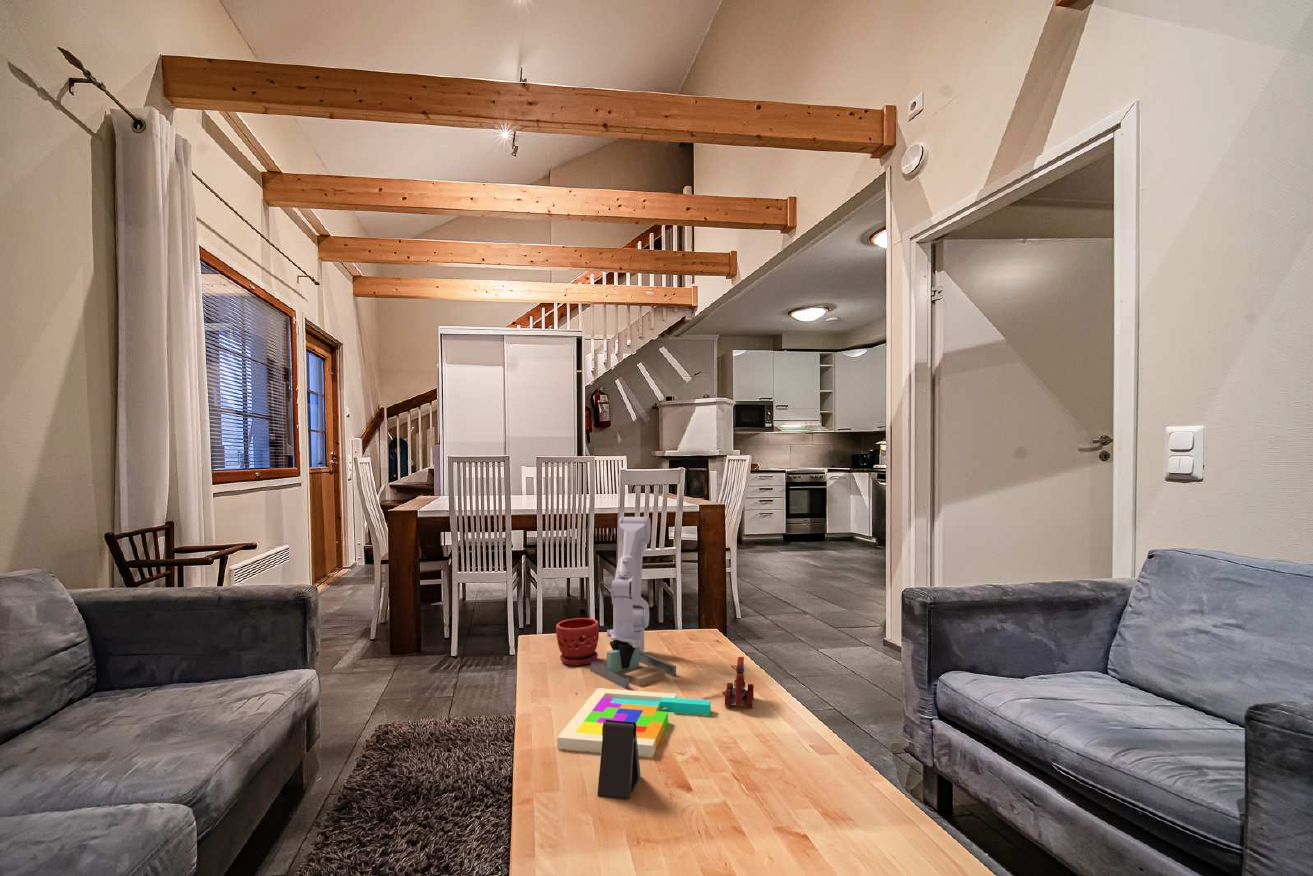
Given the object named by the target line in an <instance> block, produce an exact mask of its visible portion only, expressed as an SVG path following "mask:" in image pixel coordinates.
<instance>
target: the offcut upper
mask: <svg viewBox="0 0 1313 876" xmlns="http://www.w3.org/2000/svg"><path fill="white" fill-rule="evenodd" d="M623 675H624V676H626V677H629V684H631V685H633V686H636V687H641V686H642V687H643V686H644V685H648V684H650V683H654V682H656V681H660V680H662V679H665V678H666V673H665V670H662V669H659V668H656V667H653V666H648V665H647V666H645V667H642V668H639V669H635V670H632V671H629V672H626V673H624V674H623Z"/></svg>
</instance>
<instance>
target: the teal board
mask: <svg viewBox="0 0 1313 876" xmlns="http://www.w3.org/2000/svg"><path fill="white" fill-rule="evenodd" d="M606 667H608V668H610V669H612V670H614V671H616V672H618V673H619V672H621V671H626V670H631V669H633V668H639V667H640V662H639V647H636V648H635V650H634V652H633V655H632V658H631V662H630V666H629V668H625V669H623V668H622V665H621V656H620V651H619V649H616V650H613V649H612V650H608V651H606Z"/></svg>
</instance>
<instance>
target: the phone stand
mask: <svg viewBox="0 0 1313 876" xmlns="http://www.w3.org/2000/svg"><path fill="white" fill-rule="evenodd" d="M605 721H606V722H604V723H603V728H602V750H601V753H600V761H599V762H600V763H599V771H598V772H599V773H598V785H597V797H598V796H599V797H606V798H614V797H615V798H616V799H623V798H625V799H624V800H630V798H631V796H630V795H632V794H633V792H634V790H635V788H636V786H637V784H638V782H639V780H640V778H641V776H642V775H641V766H640V756H639V755H638V746H637V736H636V729H637V727H636V722H626V721H615V720H605ZM634 787H635V788H634ZM631 793H632V794H631ZM629 797H630V798H629Z"/></svg>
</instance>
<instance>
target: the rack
mask: <svg viewBox="0 0 1313 876" xmlns="http://www.w3.org/2000/svg"><path fill="white" fill-rule="evenodd" d="M639 663H640V664H642V665H643V664H644V665H646V666H647V667H648V666H653V667H656V668H659V669H662V670H665V675H668V676H670V677H677V665H675V664H672V663H670V662H667V661H664V659H663V660H662V659H660V658H658V657H655V656H653V655H650V654H648V653H645V652H644V653H643V652H641V651H639ZM590 672H591V673H594V674H596V675H597V676H600V677H601V678H603V679H605V680H607V681H609V682H610V683H613V684H614V685H617V686H619V687H621V688H622V689H623V690H628V689H630V683H629V677H626V676H624V674H623V673H620V672H619V671H618V672H616V671H614V670H612V669H610V668H608V667H607V665H604V664H602V663H599V662H597V661H596V660H595V661H592V662H591V663H590Z"/></svg>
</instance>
